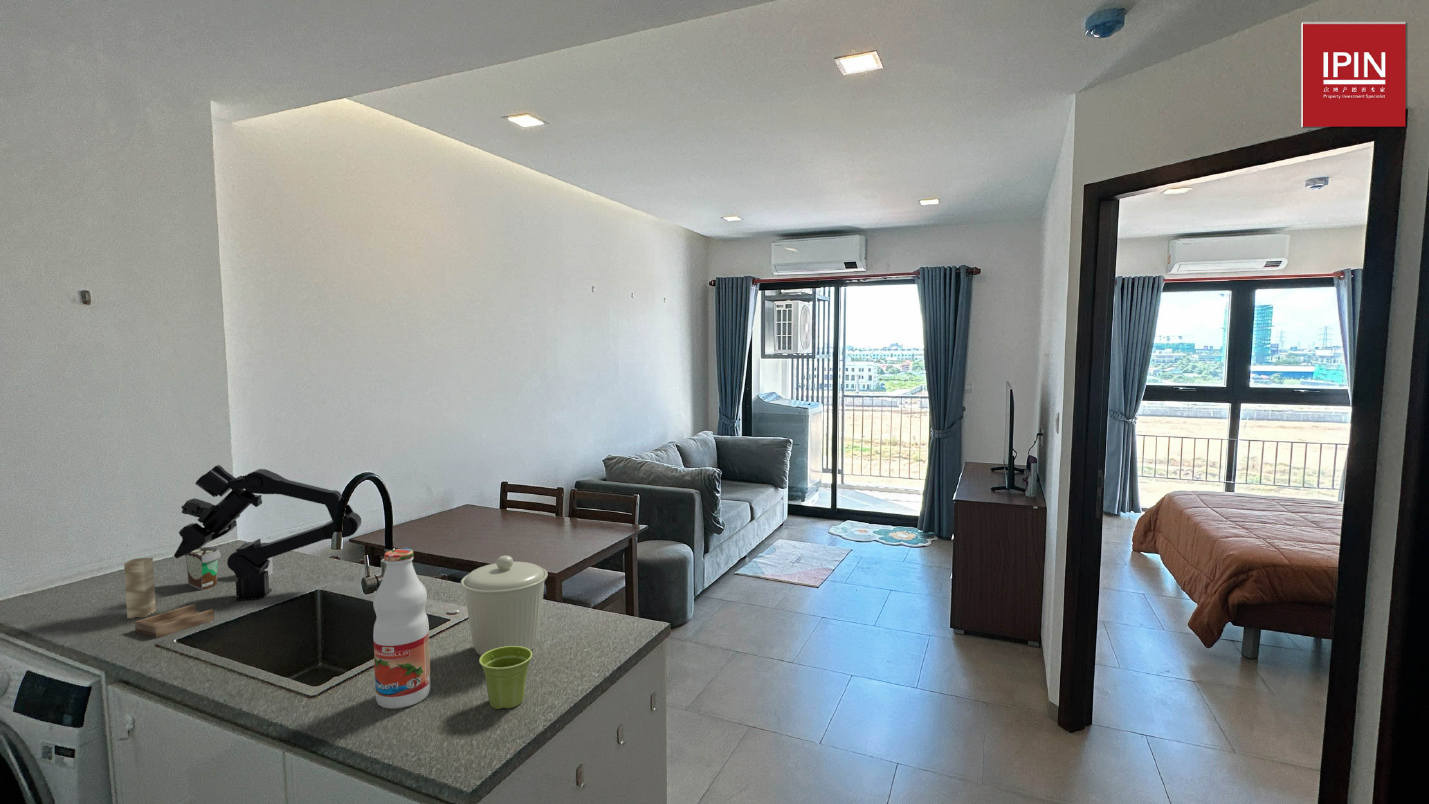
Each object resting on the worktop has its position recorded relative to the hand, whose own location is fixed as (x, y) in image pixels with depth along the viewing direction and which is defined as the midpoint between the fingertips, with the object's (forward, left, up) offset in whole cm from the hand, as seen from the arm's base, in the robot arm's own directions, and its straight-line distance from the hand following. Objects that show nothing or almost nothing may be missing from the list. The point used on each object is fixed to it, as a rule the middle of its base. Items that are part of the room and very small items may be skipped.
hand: (185, 552), depth 173 cm
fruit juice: (-65, +70, -14) cm, 97 cm away
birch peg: (+7, +8, -13) cm, 17 cm away
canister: (-83, +54, -14) cm, 100 cm away
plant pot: (-84, +77, -14) cm, 115 cm away
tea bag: (-9, -20, -14) cm, 26 cm away
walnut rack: (-5, +18, -13) cm, 23 cm away
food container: (+2, -15, -14) cm, 20 cm away
